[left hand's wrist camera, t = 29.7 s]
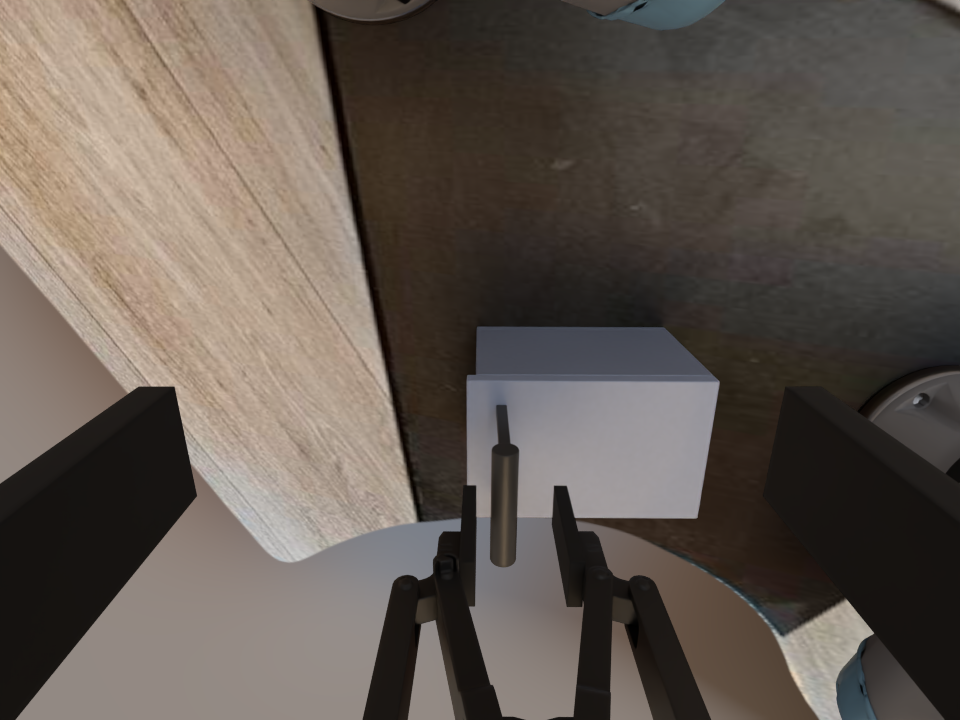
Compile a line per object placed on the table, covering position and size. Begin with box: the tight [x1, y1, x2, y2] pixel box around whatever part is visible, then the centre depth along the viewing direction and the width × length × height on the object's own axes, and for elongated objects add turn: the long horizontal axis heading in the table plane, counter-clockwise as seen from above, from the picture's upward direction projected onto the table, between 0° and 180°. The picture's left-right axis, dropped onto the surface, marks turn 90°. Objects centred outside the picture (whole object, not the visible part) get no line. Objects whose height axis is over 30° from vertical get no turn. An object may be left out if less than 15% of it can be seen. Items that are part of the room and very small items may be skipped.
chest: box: [476, 327, 713, 376], centre depth 45 cm, size 16×11×11 cm
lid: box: [467, 375, 720, 567], centre depth 36 cm, size 17×11×8 cm, turn 90°
